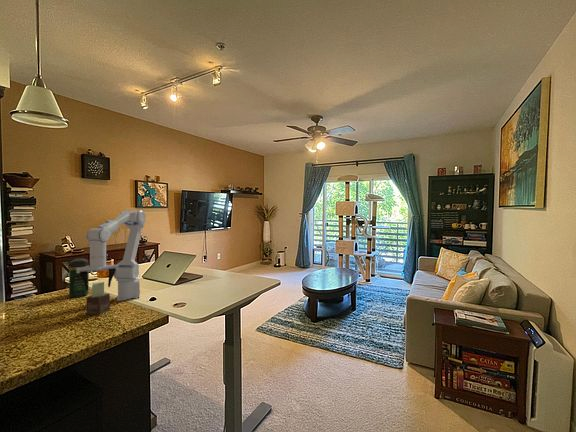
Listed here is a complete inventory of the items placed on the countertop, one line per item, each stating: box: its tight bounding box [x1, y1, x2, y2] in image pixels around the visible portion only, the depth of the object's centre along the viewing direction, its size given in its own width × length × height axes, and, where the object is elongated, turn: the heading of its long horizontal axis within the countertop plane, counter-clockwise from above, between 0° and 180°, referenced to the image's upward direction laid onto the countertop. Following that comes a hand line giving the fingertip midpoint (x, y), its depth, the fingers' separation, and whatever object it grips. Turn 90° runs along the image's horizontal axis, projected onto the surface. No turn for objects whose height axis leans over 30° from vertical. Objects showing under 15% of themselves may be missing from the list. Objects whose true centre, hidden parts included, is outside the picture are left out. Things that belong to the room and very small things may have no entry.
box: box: [85, 292, 111, 316], centre depth 116 cm, size 6×6×7 cm
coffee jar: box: [68, 257, 90, 298], centre depth 139 cm, size 10×8×19 cm
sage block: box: [91, 281, 105, 297], centre depth 116 cm, size 4×4×5 cm
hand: (98, 287), depth 116 cm, fingers open, 7 cm apart
